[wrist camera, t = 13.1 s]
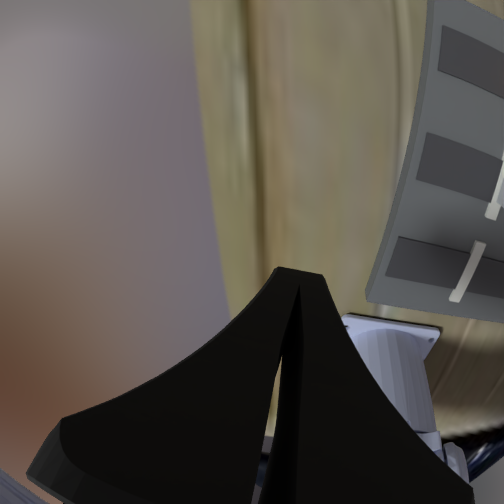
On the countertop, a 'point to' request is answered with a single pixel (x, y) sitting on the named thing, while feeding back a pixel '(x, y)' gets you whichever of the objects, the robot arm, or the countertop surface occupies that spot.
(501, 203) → the cube with peg
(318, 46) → the countertop surface
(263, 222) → the countertop surface
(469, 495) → the robot arm
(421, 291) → the control board
